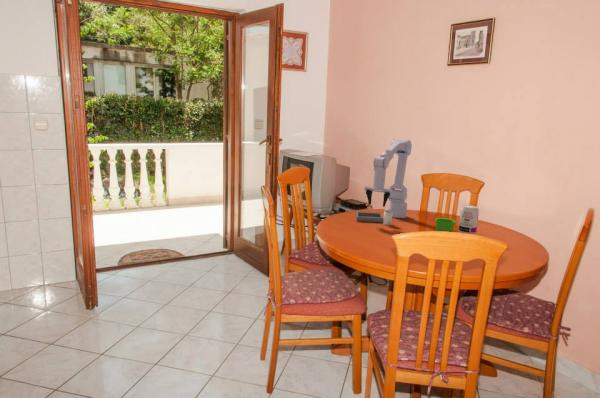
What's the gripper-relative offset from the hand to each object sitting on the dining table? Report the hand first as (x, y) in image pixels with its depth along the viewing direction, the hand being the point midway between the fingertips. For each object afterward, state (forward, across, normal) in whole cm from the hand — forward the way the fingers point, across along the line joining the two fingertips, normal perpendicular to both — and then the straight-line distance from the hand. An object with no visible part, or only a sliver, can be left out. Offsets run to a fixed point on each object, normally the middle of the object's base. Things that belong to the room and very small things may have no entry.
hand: (376, 205), depth 224 cm
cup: (+11, +37, -16) cm, 42 cm away
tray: (+10, -6, +10) cm, 15 cm away
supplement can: (+10, +46, +3) cm, 47 cm away
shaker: (+10, +6, +4) cm, 12 cm away
